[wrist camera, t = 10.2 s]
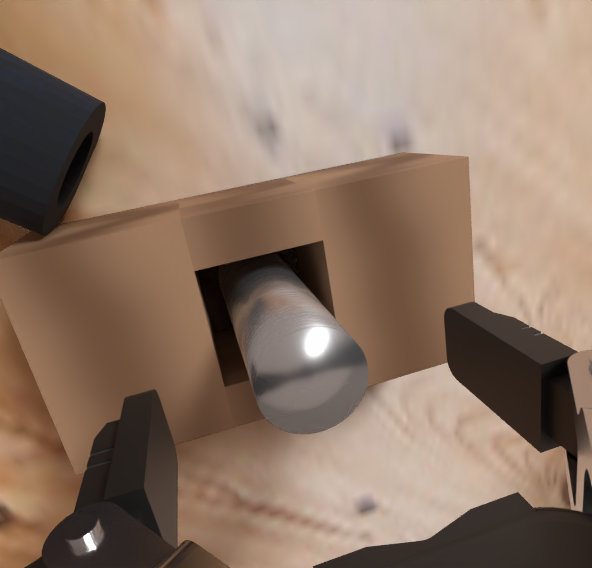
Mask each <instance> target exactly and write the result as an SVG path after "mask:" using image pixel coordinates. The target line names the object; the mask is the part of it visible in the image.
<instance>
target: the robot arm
mask: <svg viewBox="0 0 592 568" xmlns="http://www.w3.org/2000/svg"><path fill="white" fill-rule="evenodd" d="M444 326H445V340H446V354H447V362H448V365H449V368H450V370H451V372H452V374H453V376H454V377H455V378H456V379H457V380H458V381H459V382H460V383H461V384H462V385H463V386H465V387H466V388H467V389H468V390H469V391H470V392H472V393H473V394H474V395H475V396H476V397H477V398H478V399H480V400H481V401H482V402H483V403H484V404H485V405H486V406H488V407H489V408H490V409H491V410H492V411H493V412H494V413H496V414H497V415H498V416H499V417H500V418H501V419H502V420H504V421H505V422H506V423H507V424H508V425H509V426H511V427H512V428H513V429H514V430H515V431H516V432H517V433H519V434H520V435H521V436H522V437H523V438H524V439H525V440H527V441H528V442H529V443H530V444H531V445H532V446H533V447H535V448H536V449H537V450H538V451H539V452H540V453H541V452H544V451H547V450H550V449H553V448H556V447H559V446H562V447H563V448H565V468H566V475H567V483H568V490H569V497H570V504H571V510H570V509H563V508H553V507H538V508H533V507H532V506H531V505H530V504H529V503H528V502H527V501H526V500H525V499H524V498H523V497H522V496H521V495H520V494H519V493H518V492H517V493H514V494H511V495H509V496H506V497H503V498H500V499H498V500H495V501H492V502H489V503H487V504H484V505H481V506H478V507H476V508H473V509H470V510H469V511H468V512H466V513H465V514H463V515H462V516H461V517H459V518H458V519H456V520H455V521H454V522H452V523H451V524H449V525H448V526H447V527H445V528H444V529H442V530H441V531H439V532H438V533H437V534H435V535H434V536H432V537H431V538H429V539H427V540H423V541H416V542H407V543H398V544H389V545H380V546H372V547H365V548H363V549H360V550H357V551H354V552H352V553H349V554H346V555H343V556H340V557H338V558H335V559H332V560H329V561H327V562H324V563H321V564H318V565H316V566H313V568H592V350H586V351H581V352H577V351H575V350H573V349H571V348H570V347H568V346H566V345H564V344H562V343H560V342H558V341H557V340H555V339H553V338H551V337H549V336H547V335H545V334H541V332H540V331H538V330H536V329H534V328H532V327H530V328H529V325H527V324H525V323H523V322H521V321H519V320H518V319H516V318H513V317H510V316H506V315H502V314H498V313H493V312H492V311H490V310H488V309H486V308H484V307H483V306H481V305H479V304H477V303H475V302H468V303H465V304H461V305H457V306H454V307H450V308H447V309H446V310H445V313H444ZM86 467H87V470H85V474H84V477H83V481H82V484H81V488H80V492H79V495H78V499H77V502H76V506H75V510H74V513H72V514H71V515H69V516H68V517H66V518H65V519H64V520H63V521H61V522H60V523H59V524H58V525H57V526H56V527H55V528H54V529H53V531H52V532H51V533H50V534H49V536H48V538H47V539H46V541H45V543H44V546H43V549H42V557H40V558H39V559H38V560H36V561H35V562H33V563H31V564H30V565H28V566H27V567H25V568H230V567H228V566H227V565H226V564H224V563H223V562H221V561H220V560H218V559H217V558H216V557H214V556H213V555H211V554H210V553H209V552H207V551H206V550H204V549H203V548H202V547H200V546H199V545H197V544H196V543H194V542H192V541H189V540H185V541H184V542H183V543H182V544H181V545H180V546H179V547H178V548H177V506H178V464H177V455H176V449H175V445H174V441H173V438H172V435H171V431H170V428H169V425H168V422H167V419H166V416H165V413H164V410H163V407H162V404H161V401H160V398H159V395H158V393H157V391H156V390H155V389H153V390H149V391H146V392H142V393H139V394H135V395H131V396H128V397H125V398H124V402H123V407H122V412H121V416H120V419H119V420H115V421H112V422H108V423H106V424H105V426H104V427H103V428H102V429H101V431H100V432H99V433H98V434H97V436H96V437H95V438H94V441H93V445H92V448H91V452H90V457H89V459H88V463H87V466H86Z"/></svg>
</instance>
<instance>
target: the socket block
mask: <svg viewBox="0 0 592 568" xmlns="http://www.w3.org/2000/svg"><path fill="white" fill-rule="evenodd" d="M293 247H295V250H296V256H297V261H298V267H299V272H300V278H301V281H302V282H303V283H304V284H305V286H306V287H307V288H308V289H309V290H310V291H311V292H312V293H313V294H314V296H315V297H316V298H317V299H318V300H319V301H320V302H321V303H322V305H323V306H324V307H325V308H326V309H327V310H328V311H329V312H330V313H331V315H332V316H333V317H334V318H335V319H336V320H337V321H338V322H339V324H340V325H341V326H342V327H343V328H344V329H345V330H346V331H347V332H348V334H349V335H350V336H351V337H352V338H353V339H354V340H355V341H356V343H357V344H358V345H359V346H360V348H361V349H362V351H363V353H364V354H365V357H366V360H367V364H368V383H367V387H368V386H371V385H375V384H378V383H381V382H385V381H388V380H391V379H395V378H398V377H401V376H404V375H408V374H411V373H414V372H418V371H421V370H424V369H427V368H431V367H434V366H437V365H441V364H444V363H447V354H446V340H445V326H444V313H445V310H446V309H447V308H450V307H454V306H457V305H461V304H465V303H468V302H475V297H474V274H473V251H472V228H471V205H470V182H469V159H468V157H463V156H448V155H433V154H418V153H399V154H394V155H389V156H385V157H380V158H375V159H370V160H366V161H361V162H356V163H351V164H346V165H342V166H337V167H332V168H327V169H323V170H318V171H313V172H308V173H303V174H299V175H294V176H289V177H284V178H280V179H275V180H270V181H265V182H261V183H256V184H251V185H246V186H241V187H237V188H232V189H227V190H222V191H218V192H213V193H208V194H203V195H198V196H194V197H189V198H184V199H179V200H175V201H170V202H165V203H160V204H155V205H151V206H146V207H141V208H136V209H132V210H127V211H122V212H117V213H112V214H108V215H103V216H98V217H93V218H89V219H84V220H79V221H74V222H69V223H65V224H60V225H56V226H55V228H54V229H53V230H52V231H51V232H50V233H49V234H48V235H46V236H44V235H41V234H39V233H36V232H34V231H31V232H29V233H28V234H26V235H25V236H23V237H22V238H20V239H19V240H17V241H16V242H14V243H13V244H11V245H10V246H8V247H7V248H5V249H4V250H2V251H1V252H0V298H1V300H2V303H3V305H4V307H5V310H6V312H7V314H8V317H9V319H10V321H11V324H12V326H13V329H14V331H15V333H16V336H17V338H18V340H19V343H20V345H21V347H22V350H23V352H24V354H25V357H26V359H27V361H28V364H29V366H30V368H31V371H32V373H33V376H34V378H35V380H36V383H37V385H38V387H39V390H40V392H41V394H42V397H43V399H44V401H45V404H46V406H47V408H48V411H49V413H50V416H51V418H52V420H53V423H54V425H55V427H56V430H57V432H58V434H59V437H60V439H61V441H62V444H63V446H64V448H65V451H66V453H67V456H68V458H69V460H70V463H71V465H72V467H73V470H74V472H75V474H76V475H78V474H81V473H85V470H87V467H86V466H87V463H88V459H89V457H90V452H91V448H92V445H93V441H94V438H95V437H96V436H97V434H98V433H99V432H100V431H101V429H102V428H103V427H104V426H105V424H106V423H108V422H112V421H115V420H119V419H120V416H121V412H122V407H123V402H124V398H125V397H128V396H131V395H135V394H139V393H142V392H146V391H149V390H153V389H155V390H156V391H157V393H158V395H159V398H160V401H161V404H162V407H163V410H164V413H165V416H166V419H167V422H168V425H169V428H170V431H171V435H172V438H173V441H174V445H177V444H180V443H184V442H187V441H190V440H193V439H197V438H200V437H203V436H207V435H210V434H213V433H216V432H220V431H223V430H226V429H230V428H233V427H236V426H240V425H243V424H246V423H249V422H253V421H256V420H259V419H263V418H265V417H264V415H263V414H262V413H261V411H260V409H259V407H258V404H257V401H256V398H255V395H254V391H253V388H252V385H251V382H250V379H249V376H248V372H247V369H246V366H245V363H244V360H243V357H242V354H241V350H240V347H239V344H238V341H237V338H236V335H235V331H234V328H231V329H227V330H223V331H220V332H216V333H213V329H212V325H211V321H210V318H209V314H208V310H207V306H206V302H205V298H204V295H203V291H202V287H201V283H200V279H199V275H198V272H197V270H201V269H205V268H209V267H213V266H218V265H222V264H226V263H230V262H234V261H239V260H243V259H247V258H251V257H255V256H260V255H264V254H268V253H272V252H276V251H281V250H285V249H289V248H293Z"/></svg>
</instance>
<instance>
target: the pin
mask: <svg viewBox="0 0 592 568" xmlns="http://www.w3.org/2000/svg"><path fill="white" fill-rule="evenodd" d="M218 279H219V284H220V287H221V290H222V293H223V297H224V300H225V303H226V306H227V309H228V312H229V316H230V319H231V322H232V325H233V328H234V331H235V335H236V338H237V341H238V344H239V347H240V350H241V354H242V357H243V360H244V363H245V366H246V369H247V372H248V376H249V379H250V382H251V385H252V388H253V391H254V395H255V398H256V401H257V404H258V407H259V409H260V411H261V413H262V414H263V415H264V417H265V418H266V419H267V420H268V421H269V422H270V423H271V424H273V425H274V426H275V427H277V428H279V429H281V430H284V431H286V432H290V433H295V434H311V433H317V432H321V431H324V430H327V429H329V428H331V427H333V426H335V425H337V424H338V423H340V422H342V421H343V420H344V419H345V418H347V417H348V416H349V415H350V414H351V413H352V412H353V411H354V409H355V408H356V407H357V406H358V404H359V403H360V401H361V399H362V397H363V395H364V393H365V390H366V387H367V383H368V364H367V360H366V357H365V354H364V353H363V351H362V349H361V348H360V346H359V345H358V344H357V343H356V341H355V340H354V339H353V338H352V337H351V336H350V335H349V334H348V332H347V331H346V330H345V329H344V328H343V327H342V326H341V325H340V324H339V322H338V321H337V320H336V319H335V318H334V317H333V316H332V315H331V313H330V312H329V311H328V310H327V309H326V308H325V307H324V306H323V305H322V303H321V302H320V301H319V300H318V299H317V298H316V297H315V296H314V294H313V293H312V292H311V291H310V290H309V289H308V288H307V287H306V286H305V284H304V283H303V282H302V281H301V280H300V279H299V278H298V277H297V275H296V274H295V273H294V272H293V271H292V270H291V269H290V268H289V266H288V265H287V264H286V263H285V262H284V261H283V260H282V259H281V258H280V256H279V255H278V254H277V253H276V252H272V253H268V254H264V255H260V256H255V257H251V258H247V259H243V260H239V261H234V262H230V263H226V264H222V265H220V267H219V272H218Z"/></svg>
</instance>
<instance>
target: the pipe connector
mask: <svg viewBox="0 0 592 568" xmlns="http://www.w3.org/2000/svg"><path fill="white" fill-rule="evenodd" d="M105 111H106V106H105V103H104V102H102V101H100V100H98V99H96V98H94V97H92V96H90V95H89V94H87V93H85V92H83V91H81V90H79V89H77V88H75V87H73V86H71V85H70V84H68V83H66V82H64V81H62V80H60V79H58V78H56V77H54V76H52V75H51V74H49V73H47V72H45V71H43V70H41V69H39V68H37V67H35V66H33V65H32V64H30V63H28V62H26V61H24V60H22V59H20V58H18V57H16V56H14V55H13V54H11V53H9V52H7V51H5V50H3V49H1V48H0V218H2V219H5V220H7V221H9V222H12V223H14V224H17V225H19V226H22V227H24V228H27V229H29V230H32V231H34V232H36V233H39V234H41V235H44V236H46V235H48V234H49V233H50V232H51V231H52V230H53V229H54V228H55V226H56V225H57V224H58V222H59V221H60V219H61V218H62V216H63V214H64V213H65V211H66V209H67V208H68V206H69V204H70V202H71V200H72V198H73V197H74V195H75V193H76V190H77V188H78V186H79V183H80V181H81V179H82V176H83V174H84V172H85V169H86V167H87V165H88V162H89V160H90V158H91V155H92V153H93V151H94V148H95V146H96V144H97V141H98V138H99V135H100V133H101V129H102V126H103V122H104V117H105Z"/></svg>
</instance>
